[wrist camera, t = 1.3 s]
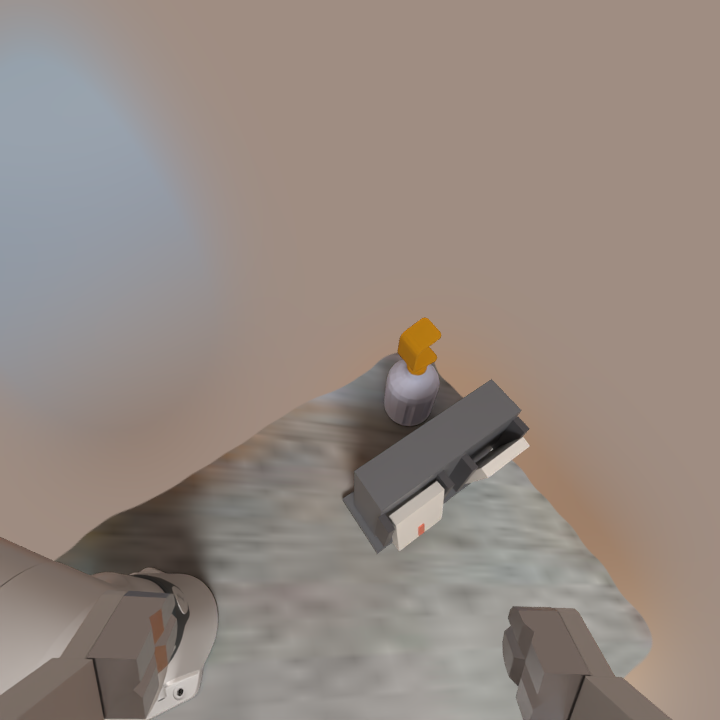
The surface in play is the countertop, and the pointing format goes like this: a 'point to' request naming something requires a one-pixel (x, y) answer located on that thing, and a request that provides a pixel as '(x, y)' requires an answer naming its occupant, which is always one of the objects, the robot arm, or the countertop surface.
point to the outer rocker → (497, 459)
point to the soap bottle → (413, 376)
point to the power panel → (432, 459)
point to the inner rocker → (417, 515)
